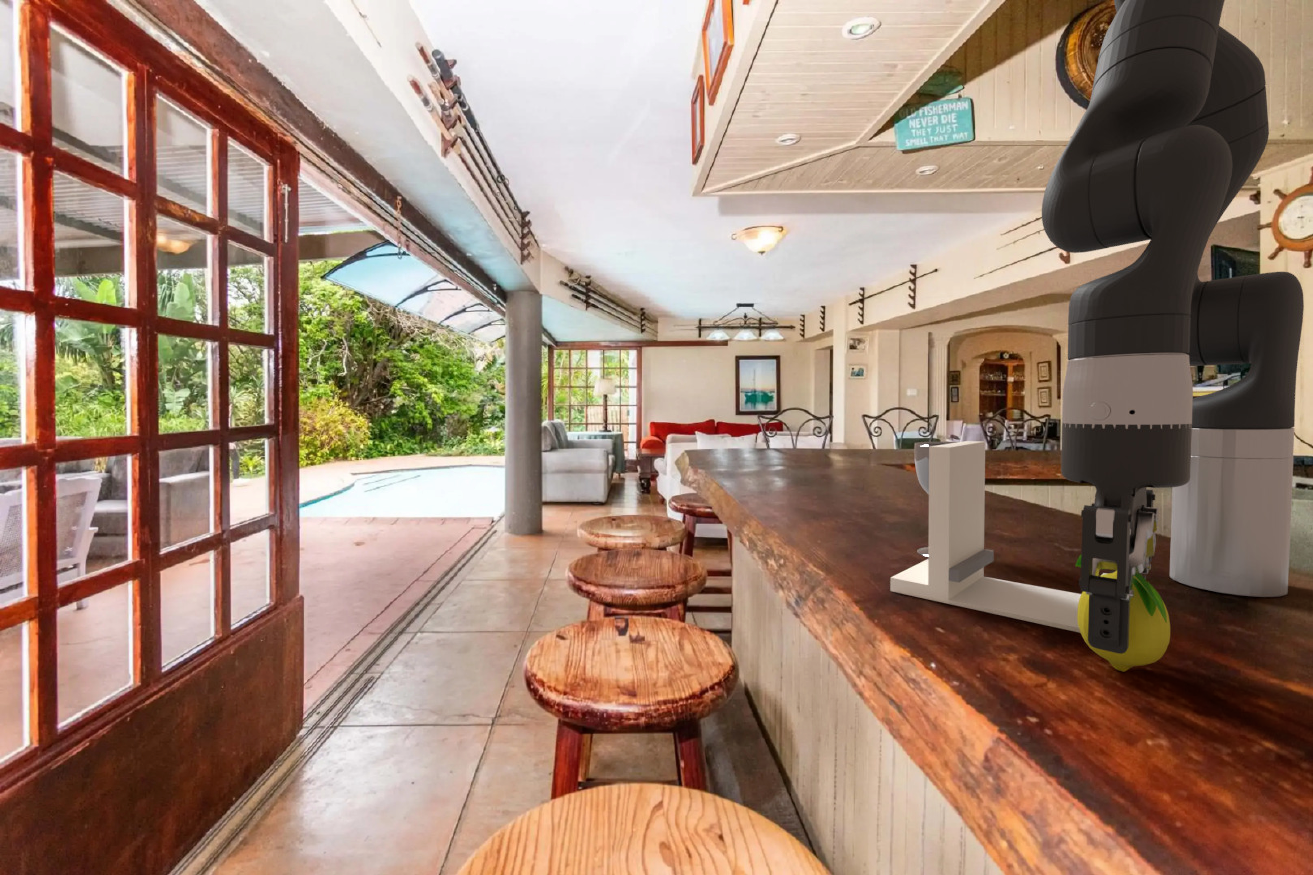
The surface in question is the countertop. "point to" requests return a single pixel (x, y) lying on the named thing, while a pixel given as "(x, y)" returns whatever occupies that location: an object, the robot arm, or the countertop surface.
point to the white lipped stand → (973, 548)
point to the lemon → (1134, 625)
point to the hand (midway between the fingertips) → (1117, 632)
